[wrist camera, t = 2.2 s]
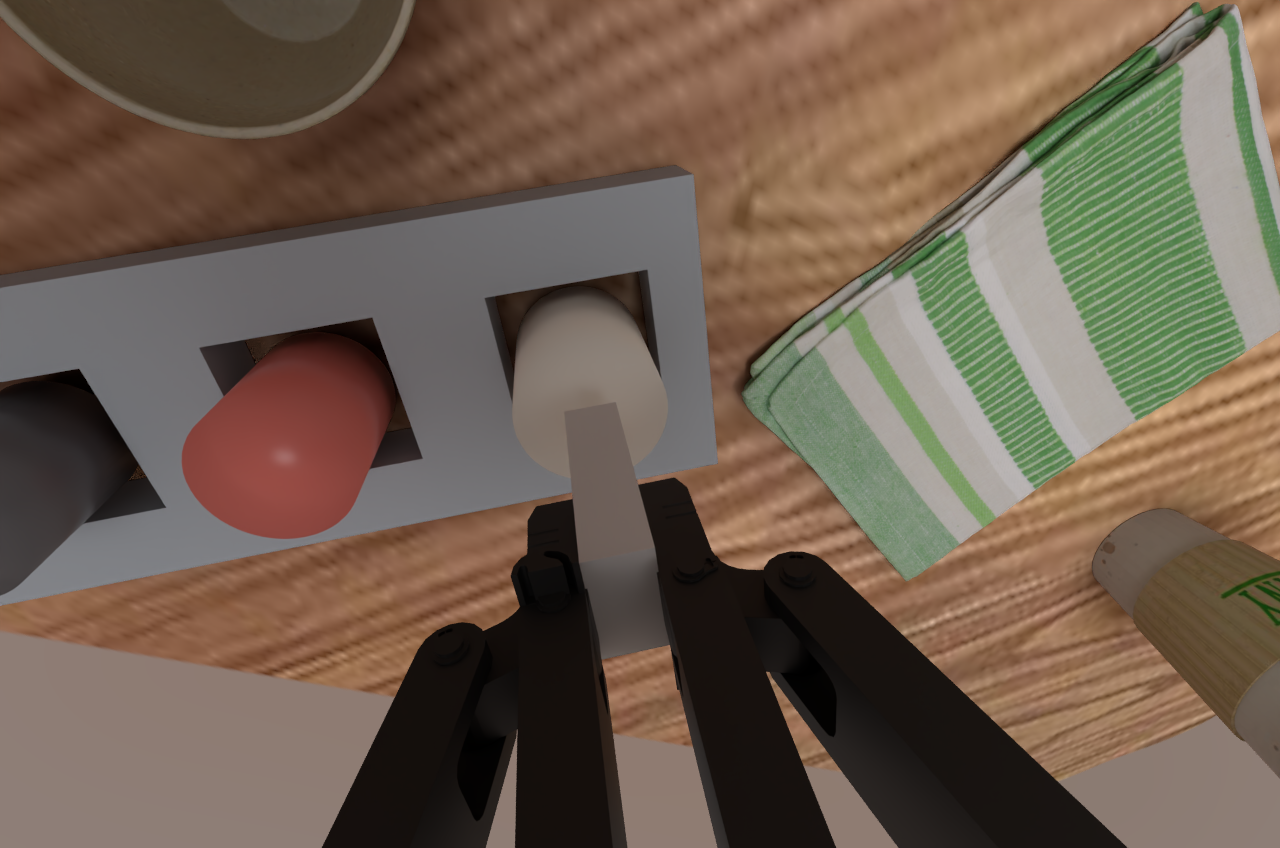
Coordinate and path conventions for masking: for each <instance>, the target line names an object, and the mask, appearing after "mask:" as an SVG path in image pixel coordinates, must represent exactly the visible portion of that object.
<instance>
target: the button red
mask: <svg viewBox="0 0 1280 848" xmlns="http://www.w3.org/2000/svg"><path fill="white" fill-rule="evenodd" d="M395 403H396V394H395V388H394V384H393V381H392V378H391V376H390V374H389V372H388V370H387V369H386V367H385V366H384V365H383V363H382V362H381V361H380V360H379V359H378V358H377V357H376V356H375V355H374V354H373V353H372V352H371V351H370V350H368V349H367V348H366V347H364V346H362V345H361V344H359V343H357V342H355V341H353V340H351V339H349V338H346V337H343V336H340V335H336V334H332V333H324V332H310V333H302V334H298V335H294V336H292V337H289V338H287V339H285V340H283V341H281V342H280V343H278V344H277V345H276V346H275V347H273V348H272V349H271V350H270V351H269V352H268V353H267V354H266V355H265V356H264V357H263V358H262V359H261V360H260V361H259V362H258V363H257V364H256V365H255V366H254V367H253V368H252V369H251V370H250V371H249V372H248V373H247V374H246V375H245V376H244V377H243V378H242V379H241V380H240V381H239V382H238V383H237V384H236V385H235V386H234V387H233V388H232V389H231V390H230V391H229V392H228V393H227V394H226V395H225V396H224V397H223V398H222V399H221V400H220V401H219V402H218V403H217V404H216V405H215V406H214V407H213V408H212V409H211V410H210V411H209V412H208V413H207V414H206V415H205V416H204V417H203V418H202V419H201V420H200V421H199V422H198V423H197V424H196V425H195V426H194V427H193V428H192V430H191V431H190V433H189V434H188V436H187V438H186V440H185V443H184V445H183V450H182V469H183V474H184V477H185V480H186V482H187V484H188V486H189V488H190V490H191V492H192V493H193V495H194V496H195V498H196V499H197V500H198V501H199V502H200V503H201V505H202V506H203V507H204V508H205V509H207V510H208V511H209V512H210V513H211V514H212V515H214V516H215V517H217V518H218V519H219V520H221V521H223V522H224V523H226V524H228V525H230V526H232V527H234V528H236V529H238V530H241V531H244V532H247V533H249V534H253V535H257V536H261V537H267V538H275V539H295V538H302V537H307V536H311V535H315V534H318V533H320V532H323V531H325V530H327V529H329V528H331V527H333V526H334V525H336V524H337V523H339V522H340V521H341V520H342V519H343V518H344V517H345V516H346V515H347V514H348V513H349V511H350V510H351V509H352V507H353V505H354V503H355V502H356V499H357V497H358V495H359V492H360V490H361V488H362V485H363V483H364V481H365V478H366V476H367V474H368V471H369V469H370V467H371V464H372V462H373V460H374V457H375V455H376V453H377V450H378V448H379V446H380V443H381V441H382V439H383V436H384V434H385V432H386V429H387V427H388V425H389V423H390V420H391V418H392V415H393V412H394V409H395Z"/></svg>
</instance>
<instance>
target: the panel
mask: <svg viewBox="0 0 1280 848" xmlns="http://www.w3.org/2000/svg"><path fill="white" fill-rule="evenodd" d="M636 271H638V272H639V279H640V287H641V294H642V301H643V309H644V316H645V324H646V331H647V338H648V346H649V353H650V355H651V357H652V359H653V362H654V364H655V366H656V368H657V371H658V373H659V375H660V377H661V380H662V382H663V384H664V387H665V390H666V394H667V399H668V415H667V421H666V425H665V428H664V431H663V433H662V435H661V437H660V439H659V441H658V443H657V444H656V445H655V447H654V448H653V450H652V451H651V452H650V453H649V454H648V455H647V456H646V457H645V458H644V459H643V460H641V461H640V462H639V463H638V464H636V465H635V466H633V468H634V472H635V475H636V479H642V478H647V477H652V476H658V475H663V474H668V473H673V472H678V471H683V470H688V469H693V468H698V467H703V466H708V465H713V464H718V459H717V447H716V435H715V424H714V412H713V400H712V388H711V376H710V365H709V353H708V341H707V329H706V317H705V305H704V294H703V282H702V270H701V258H700V246H699V235H698V223H697V211H696V199H695V187H694V176H693V174H692V173H690V172H688V171H686V170H684V169H683V168H681V167H679V166H677V165H673V166H667V167H661V168H655V169H649V170H643V171H636V172H630V173H624V174H618V175H612V176H606V177H600V178H593V179H587V180H581V181H575V182H569V183H563V184H557V185H550V186H544V187H538V188H532V189H526V190H520V191H514V192H508V193H501V194H495V195H489V196H483V197H477V198H471V199H465V200H458V201H452V202H446V203H440V204H434V205H428V206H422V207H415V208H409V209H403V210H397V211H391V212H385V213H379V214H372V215H366V216H360V217H354V218H348V219H342V220H336V221H330V222H323V223H317V224H311V225H305V226H299V227H293V228H287V229H280V230H274V231H268V232H262V233H256V234H250V235H244V236H237V237H231V238H225V239H219V240H213V241H207V242H201V243H194V244H188V245H182V246H176V247H170V248H164V249H158V250H152V251H145V252H139V253H133V254H127V255H121V256H115V257H109V258H102V259H96V260H90V261H84V262H78V263H72V264H66V265H59V266H53V267H47V268H41V269H35V270H29V271H23V272H16V273H10V274H4V275H0V382H5V381H11V380H16V379H22V378H28V377H34V376H39V375H45V374H51V373H57V372H62V371H68V370H74V369H80V371H81V372H82V374H83V375H84V377H85V379H86V380H87V382H88V383H89V385H90V387H91V388H92V390H93V391H94V393H95V395H96V396H97V398H98V399H99V401H100V403H101V404H102V406H103V407H104V409H105V411H106V412H107V414H108V415H109V417H110V419H111V420H112V422H113V423H114V425H115V427H116V428H117V430H118V431H119V433H120V434H121V436H122V438H123V439H124V441H125V442H126V444H127V446H128V447H129V449H130V450H131V452H132V454H133V455H134V457H135V458H136V460H137V462H138V463H139V465H140V466H141V468H142V470H143V471H144V473H145V474H146V476H147V478H142V479H137V480H131V481H127V482H126V483H125V484H124V485H123V486H122V487H121V488H120V489H118V490H117V491H116V492H115V493H114V494H113V495H112V496H111V497H110V498H109V499H108V500H107V501H106V502H105V503H104V504H103V505H102V506H101V507H100V508H99V509H98V510H97V511H96V512H95V513H94V514H93V515H92V516H90V517H89V518H88V519H87V520H86V521H85V522H84V523H83V524H82V525H81V526H80V527H79V528H78V529H77V530H76V531H75V532H74V533H73V534H72V535H71V536H70V537H69V538H68V539H67V540H66V541H65V542H64V543H62V544H61V545H60V546H59V547H58V548H57V549H56V550H55V551H54V552H53V553H52V554H51V555H50V556H49V557H48V558H47V559H46V560H45V561H44V562H43V563H42V564H41V565H40V566H39V567H38V568H37V569H35V570H34V571H33V572H32V573H31V574H30V575H29V576H28V577H27V578H26V579H25V580H24V581H23V582H22V583H21V584H20V585H19V586H17V587H16V588H15V589H13V590H11V591H10V592H8V593H6V594H4V595H1V596H0V606H1V605H6V604H11V603H16V602H21V601H26V600H31V599H36V598H41V597H46V596H51V595H56V594H61V593H66V592H71V591H77V590H82V589H87V588H92V587H97V586H102V585H107V584H112V583H117V582H122V581H127V580H132V579H137V578H142V577H147V576H152V575H157V574H162V573H167V572H173V571H178V570H183V569H188V568H193V567H198V566H203V565H208V564H213V563H218V562H223V561H228V560H233V559H238V558H243V557H248V556H253V555H258V554H263V553H269V552H274V551H279V550H284V549H289V548H294V547H299V546H304V545H309V544H314V543H319V542H324V541H329V540H334V539H339V538H344V537H349V536H354V535H359V534H365V533H370V532H375V531H380V530H385V529H390V528H395V527H400V526H405V525H410V524H415V523H420V522H425V521H430V520H435V519H440V518H445V517H450V516H455V515H461V514H466V513H471V512H476V511H481V510H486V509H491V508H496V507H501V506H506V505H511V504H516V503H521V502H526V501H531V500H536V499H541V498H546V497H551V496H556V495H562V494H567V493H572V486H571V478H567V477H564V476H560V475H557V474H555V473H553V472H551V471H548V470H547V469H545V468H543V467H542V466H540V465H539V464H538V463H536V462H535V461H534V460H533V459H532V458H531V457H530V456H529V455H528V454H527V453H526V451H525V450H524V449H523V447H522V446H521V444H520V442H519V440H518V438H517V436H516V433H515V430H514V426H513V420H512V404H513V388H514V371H513V367H512V363H511V359H510V355H509V351H508V347H507V343H506V340H505V336H504V332H503V328H502V324H501V320H500V316H499V312H498V308H497V304H496V300H495V296H498V295H504V294H510V293H516V292H521V291H527V290H533V289H539V288H544V287H550V286H556V285H562V284H567V283H573V282H579V281H584V280H590V279H596V278H602V277H607V276H613V275H619V274H625V273H630V272H636ZM366 318H373V321H374V324H375V326H376V329H377V332H378V335H379V338H380V340H381V343H382V346H383V349H384V351H385V354H386V357H387V360H388V363H389V365H390V368H391V371H392V374H393V377H394V379H395V382H396V385H397V388H398V390H399V393H400V396H401V399H402V402H403V404H404V407H405V410H406V413H407V416H408V418H409V421H410V424H411V427H412V428H409V429H404V430H398V431H393V432H388V433H385V434H384V436H383V439H382V441H381V443H380V446H379V448H378V450H377V453H376V455H375V457H374V460H373V462H372V464H371V467H370V469H369V471H368V474H367V476H366V478H365V481H364V483H363V485H362V488H361V490H360V492H359V495H358V497H357V499H356V502H355V503H354V505H353V507H352V509H351V510H350V511H349V513H348V514H347V515H346V516H345V517H344V518H343V519H342V520H341V521H340V522H339V523H337V524H336V525H334V526H333V527H331V528H329V529H327V530H325V531H323V532H320V533H318V534H315V535H311V536H307V537H302V538H295V539H275V538H267V537H261V536H257V535H253V534H249V533H247V532H244V531H241V530H238V529H236V528H234V527H232V526H230V525H228V524H226V523H224V522H223V521H221V520H219V519H218V518H217V517H215V516H214V515H212V514H211V513H210V512H209V511H208V510H207V509H205V508H204V507H203V506H202V505H201V503H200V502H199V501H198V500H197V499H196V498H195V496H194V495H193V493H192V492H191V490H190V488H189V486H188V484H187V482H186V480H185V477H184V474H183V469H182V450H183V445H184V443H185V440H186V438H187V436H188V434H189V433H190V431H191V430H192V428H193V427H194V426H195V425H196V424H197V423H198V422H199V421H200V420H201V419H202V418H203V417H204V416H205V415H206V414H207V413H208V412H209V411H210V410H211V409H212V408H213V407H214V406H215V405H216V404H217V403H218V402H219V401H220V400H221V399H222V398H223V397H224V396H225V395H226V394H227V393H228V392H229V391H230V390H231V389H232V388H233V387H234V386H235V385H236V384H237V383H238V382H239V381H240V380H241V379H242V378H243V377H244V376H245V375H246V374H247V373H248V372H249V371H250V370H251V369H252V368H253V367H254V366H255V365H256V364H255V362H254V360H253V358H252V356H251V354H250V352H249V350H248V348H247V345H246V343H245V341H244V340H246V339H252V338H257V337H263V336H269V335H275V334H280V333H286V332H292V331H298V330H303V329H309V328H315V327H321V326H326V325H332V324H338V323H343V322H349V321H355V320H361V319H366Z"/></svg>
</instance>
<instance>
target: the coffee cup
mask: <svg viewBox="0 0 1280 848" xmlns="http://www.w3.org/2000/svg"><path fill="white" fill-rule="evenodd" d="M1092 571H1093V575H1094V577H1095V579H1096V580H1097V581H1098V582H1099V583H1100V584H1101V585H1102V587H1103V588H1104V589H1105V590H1106V591H1107V592H1108V593H1109V594H1110V595H1111V596H1112V597H1113V598H1114V600H1115V601H1116V602H1117V603H1118V604H1119V605H1120V606H1121V607H1122V608H1123V609H1124V610H1125V611H1126V612H1127V614H1128V615H1129V616H1130V617H1131V618H1132V619H1133V620H1134V623H1135V625H1136V627H1137V628H1138V629H1139V630H1140V631H1141V633H1142V634H1143V635H1144V636H1145V637H1146V638H1147V639H1148V640H1149V641H1150V642H1151V643H1152V645H1153V646H1154V647H1155V648H1156V649H1157V650H1158V651H1159V652H1160V653H1161V654H1162V656H1163V657H1164V658H1165V659H1166V660H1167V661H1168V662H1169V663H1170V664H1171V665H1172V667H1173V668H1174V669H1175V670H1176V671H1177V672H1178V673H1179V674H1180V675H1181V676H1182V678H1183V679H1184V680H1185V681H1186V682H1187V683H1188V684H1189V685H1190V686H1191V687H1192V688H1193V690H1194V691H1195V692H1196V693H1197V694H1198V695H1199V696H1200V697H1201V698H1202V699H1203V701H1204V702H1205V703H1206V704H1207V705H1208V706H1209V707H1210V708H1211V709H1212V710H1213V712H1214V713H1215V714H1216V715H1217V716H1218V717H1219V718H1220V719H1221V720H1222V721H1223V722H1224V724H1225V725H1226V726H1227V727H1228V728H1229V729H1230V730H1231V731H1232V732H1233V733H1234V735H1236V736H1237V737H1238V738H1239V739H1241V740H1243V741H1246V742H1247V743H1248V744H1249V746H1250V747H1251V748H1252V749H1253V750H1254V751H1255V752H1256V753H1257V754H1258V755H1259V756H1260V757H1261V759H1262V760H1263V761H1264V762H1265V763H1266V764H1267V765H1268V766H1269V767H1270V768H1271V770H1272V771H1273V772H1274V773H1275V774H1276V775H1277V776H1278V777H1279V778H1280V561H1279V560H1277V559H1275V558H1273V557H1271V556H1269V555H1267V554H1265V553H1263V552H1261V551H1259V550H1257V549H1255V548H1253V547H1251V546H1249V545H1247V544H1245V543H1243V542H1241V541H1236V540H1231V539H1229V538H1227V537H1225V536H1223V535H1221V534H1219V533H1218V532H1216V531H1214V530H1212V529H1210V528H1208V527H1206V526H1204V525H1202V524H1200V523H1198V522H1196V521H1194V520H1192V519H1190V518H1188V517H1186V516H1184V515H1182V514H1181V513H1179V512H1177V511H1175V510H1170V509H1156V510H1150V511H1147V512H1144V513H1141V514H1139V515H1137V516H1135V517H1132V518H1130V519H1129V520H1127V521H1126V522H1124V523H1123V524H1121V525H1120V526H1119V527H1117V528H1116V529H1115V530H1114V531H1112V532H1111V533H1110V534H1109V536H1108V537H1107V538H1106V539H1105V540H1104V541H1103V543H1102V544H1101V545H1100V547H1099V548H1098V550H1097V552H1096V554H1095V557H1094V560H1093V565H1092Z"/></svg>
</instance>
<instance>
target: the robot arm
mask: <svg viewBox="0 0 1280 848" xmlns="http://www.w3.org/2000/svg"><path fill="white" fill-rule="evenodd" d="M564 414H565V424H566V435H567V445H568V455H569V465H570V475H571V486H572V496H573V499H571V500H566V501H561V502H556V503H551V504H546V505H541V506H536V508H535V509H534V511H533V513H532V514H531V516H530V518H529V519H528V544H527V546H528V549H527V555H525V556H524V557H522V558H521V559H520V560H519V561H518V562H517V563H516V565H515V566H514V567H513V570H512V573H511V579H512V582H513V585H514V588H515V592H516V595H517V598H518V601H519V605H520V608H519V609H518V610H517V611H516V612H515V613H514V614H513V615H512V616H510V617H509V618H508V619H506V620H504V621H503V622H501V623H499V624H497V625H495V626H493V627H491V628H489V629H487V630H485V631H482V629H481V628H479V627H478V626H476V625H475V624H471V623H464V622H461V623H456V624H450V625H448V626H445V627H443V628H441V629H439V630H437V631H435V632H434V633H433V634H432V635H430V636H429V637H428V638H427V639H425V641H424V642H423V644H422V645H421V647H420V648H419V649H418V651H417V653H416V655H415V657H414V659H413V661H412V663H411V665H410V667H409V670H408V672H407V674H406V676H405V678H404V680H403V682H402V684H401V686H400V688H399V690H398V692H397V694H396V696H395V698H394V700H393V702H392V705H391V707H390V709H389V711H388V713H387V715H386V717H385V719H384V721H383V723H382V725H381V727H380V729H379V731H378V733H377V735H376V738H375V740H374V742H373V744H372V746H371V748H370V750H369V752H368V754H367V756H366V758H365V760H364V762H363V764H362V766H361V768H360V770H359V773H358V774H357V776H356V779H355V781H354V783H353V785H352V787H351V789H350V791H349V793H348V795H347V797H346V799H345V802H344V803H343V805H342V807H341V809H340V811H339V814H338V816H337V818H336V820H335V822H334V824H333V826H332V828H331V830H330V832H329V834H328V836H327V838H326V840H325V842H324V844H323V846H322V848H486V844H487V841H488V837H489V833H490V830H491V826H492V823H493V819H494V815H495V812H496V808H497V804H498V801H499V797H500V794H501V790H502V786H503V783H504V779H505V776H506V772H507V768H508V765H509V761H510V757H511V754H512V750H513V746H514V743H515V739H516V733H517V729H518V736H517V737H518V738H517V783H516V829H515V833H516V834H515V848H627V841H626V833H625V825H624V817H623V810H622V802H621V794H620V786H619V779H618V770H617V763H616V755H615V748H614V739H613V731H612V723H611V716H610V708H609V700H608V692H607V684H606V678H605V674H604V670H603V666H602V659H607V658H611V657H616V656H620V655H625V654H630V653H634V652H639V651H644V650H648V649H653V648H657V647H662V646H667V645H670V647H671V652H672V659H673V665H674V672H675V678H676V685H677V690H680V694H681V698H682V703H683V707H684V711H685V715H686V719H687V723H688V727H689V731H690V736H691V740H692V744H693V748H694V752H695V756H696V760H697V764H698V769H699V773H700V777H701V781H702V785H703V789H704V793H705V798H706V801H707V806H708V810H709V814H710V818H711V822H712V826H713V831H714V835H715V838H716V843H717V847H718V848H836V846H835V844H834V841H833V839H832V836H831V834H830V831H829V829H828V826H827V824H826V821H825V819H824V816H823V814H822V811H821V809H820V806H819V804H818V801H817V799H816V796H815V794H814V791H813V789H812V786H811V784H810V781H809V779H808V776H807V774H806V771H805V768H804V766H803V763H802V761H801V758H800V756H799V753H798V751H797V748H796V746H795V743H794V741H793V738H792V736H791V733H790V731H789V728H788V726H787V723H786V721H785V718H784V716H783V713H782V711H781V708H780V706H779V703H778V701H777V698H776V696H775V693H774V691H773V688H772V686H771V683H770V681H769V678H768V676H767V673H766V672H770V674H771V676H772V678H773V679H774V681H775V682H776V683H777V685H778V686H779V687H780V689H781V690H782V691H783V693H784V694H785V695H786V697H787V698H788V699H789V701H790V702H791V703H792V705H793V706H794V708H795V709H796V710H797V712H798V713H799V714H800V716H801V717H802V718H803V720H804V721H805V722H806V724H807V725H808V726H809V728H810V729H811V730H812V732H813V733H814V734H815V736H816V737H817V739H818V740H819V741H820V743H821V744H822V745H823V747H824V748H825V749H826V751H827V752H828V753H829V755H830V756H831V757H832V759H833V760H834V761H835V763H836V764H837V765H838V767H839V768H840V770H841V771H842V772H843V774H844V775H845V776H846V778H847V779H848V780H849V782H850V783H851V784H852V786H853V787H854V788H855V790H856V791H857V792H858V794H859V795H860V796H861V798H862V799H863V800H864V802H865V803H866V805H867V806H868V807H869V809H870V810H871V811H872V813H873V814H874V815H875V817H876V818H877V819H878V820H879V822H880V823H881V825H882V826H883V827H884V829H885V830H886V832H887V833H888V834H889V836H890V837H891V838H892V839H893V841H894V842H895V844H896V845H897V846H898V848H1127V847H1126V846H1125V845H1124V844H1123V843H1122V842H1121V841H1120V840H1119V839H1118V838H1117V837H1116V836H1114V835H1113V834H1112V833H1111V832H1110V831H1109V830H1108V829H1107V828H1106V827H1105V826H1104V825H1103V824H1102V823H1101V822H1100V821H1099V820H1098V819H1097V818H1096V817H1094V816H1093V815H1092V814H1091V813H1090V812H1089V811H1088V810H1087V809H1086V808H1085V807H1084V806H1083V805H1082V804H1081V803H1080V802H1079V801H1078V800H1077V799H1075V798H1074V797H1073V796H1072V795H1071V794H1070V793H1069V792H1068V791H1067V790H1066V789H1065V788H1064V787H1063V786H1062V785H1061V784H1060V783H1059V782H1057V781H1056V780H1055V779H1054V778H1053V777H1052V776H1051V775H1050V774H1049V773H1048V772H1047V771H1046V770H1045V769H1044V768H1043V767H1042V766H1041V765H1040V764H1038V763H1037V762H1036V761H1035V760H1034V759H1033V758H1032V757H1031V756H1030V755H1029V754H1028V753H1027V752H1026V751H1025V750H1024V749H1023V748H1022V747H1020V746H1019V745H1018V744H1017V743H1016V742H1015V741H1014V740H1013V739H1012V738H1011V737H1010V736H1009V735H1008V734H1007V733H1006V732H1005V731H1004V730H1003V729H1001V728H1000V727H999V726H998V725H997V724H996V723H995V722H994V721H993V720H992V719H991V718H990V717H989V716H988V715H987V714H986V713H985V712H984V711H982V710H981V709H980V708H979V707H978V706H977V705H976V704H975V703H974V702H973V701H972V700H971V699H970V698H969V697H968V696H967V695H966V694H964V693H963V692H962V691H961V690H960V689H959V688H958V687H957V686H956V685H955V684H954V683H953V682H952V681H951V680H950V679H949V678H948V677H947V676H945V675H944V674H943V673H942V672H941V671H940V670H939V669H938V668H937V667H936V666H935V665H934V664H933V663H932V662H931V661H930V660H929V659H928V658H926V657H925V656H924V655H923V654H922V653H921V652H920V651H919V650H918V649H917V648H916V647H915V646H914V645H913V644H912V643H911V642H910V641H908V640H907V639H906V638H905V637H904V636H903V635H902V634H901V633H900V632H899V631H898V630H897V629H896V628H895V627H894V626H893V625H892V624H891V623H889V622H888V621H887V620H886V619H885V618H884V617H883V616H882V615H881V614H880V613H879V612H878V611H877V610H876V609H875V608H874V607H873V606H871V605H870V604H869V603H868V602H867V601H866V600H865V599H864V598H863V597H862V596H861V595H860V594H859V593H858V592H857V591H856V590H855V589H854V588H852V587H851V586H850V585H849V584H848V583H847V582H846V581H845V580H844V579H843V578H842V577H841V576H840V575H839V574H838V573H837V572H836V571H835V570H833V569H832V568H831V567H830V566H829V565H828V564H827V563H826V562H825V561H823V560H822V559H820V558H819V557H817V556H815V555H812V554H809V553H805V552H786V553H782V554H778V555H777V556H775V557H774V558H772V559H770V560H769V561H768V563H767V564H766V566H765V567H764V570H746V569H738V568H735V567H731V566H728V565H727V564H725V563H723V562H721V561H720V559H719V558H718V557H717V556H715V555H714V553H713V552H712V550H711V547H710V545H709V542H708V540H707V537H706V535H705V532H704V529H703V527H702V524H701V522H700V519H699V517H698V514H697V513H696V509H695V506H694V504H693V502H692V499H691V496H690V494H689V491H688V489H687V487H686V486H685V485H683V484H682V483H681V482H680V481H678V480H677V479H676V478H670V479H665V480H660V481H655V482H650V483H645V484H640V485H638V483H637V479H636V475H635V472H634V468H633V464H632V460H631V457H630V453H629V449H628V446H627V442H626V438H625V434H624V431H623V427H622V423H621V419H620V416H619V412H618V408H617V405H616V402H613V403H607V404H602V405H597V406H592V407H586V408H581V409H576V410H570V411H565V412H564ZM601 658H602V659H601Z"/></svg>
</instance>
